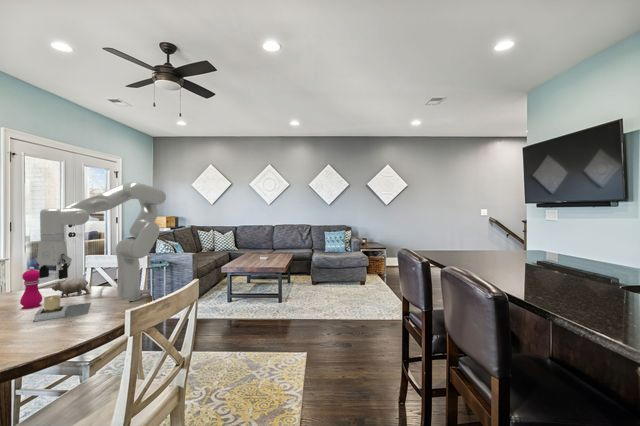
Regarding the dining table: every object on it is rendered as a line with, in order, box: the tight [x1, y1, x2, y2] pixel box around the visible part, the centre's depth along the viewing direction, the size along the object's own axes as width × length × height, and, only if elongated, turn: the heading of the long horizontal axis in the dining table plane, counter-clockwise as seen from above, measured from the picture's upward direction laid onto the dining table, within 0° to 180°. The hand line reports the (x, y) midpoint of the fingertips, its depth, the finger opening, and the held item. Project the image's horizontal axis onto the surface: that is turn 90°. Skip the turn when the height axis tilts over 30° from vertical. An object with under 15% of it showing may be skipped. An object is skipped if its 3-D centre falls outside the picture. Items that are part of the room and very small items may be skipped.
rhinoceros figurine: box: [49, 277, 90, 299], centre depth 150 cm, size 8×14×15 cm
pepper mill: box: [19, 266, 44, 310], centre depth 130 cm, size 7×7×20 cm
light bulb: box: [43, 294, 61, 313], centre depth 119 cm, size 5×5×8 cm
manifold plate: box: [32, 302, 92, 323], centre depth 124 cm, size 17×18×4 cm
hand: (53, 277), depth 119 cm, fingers open, 9 cm apart
